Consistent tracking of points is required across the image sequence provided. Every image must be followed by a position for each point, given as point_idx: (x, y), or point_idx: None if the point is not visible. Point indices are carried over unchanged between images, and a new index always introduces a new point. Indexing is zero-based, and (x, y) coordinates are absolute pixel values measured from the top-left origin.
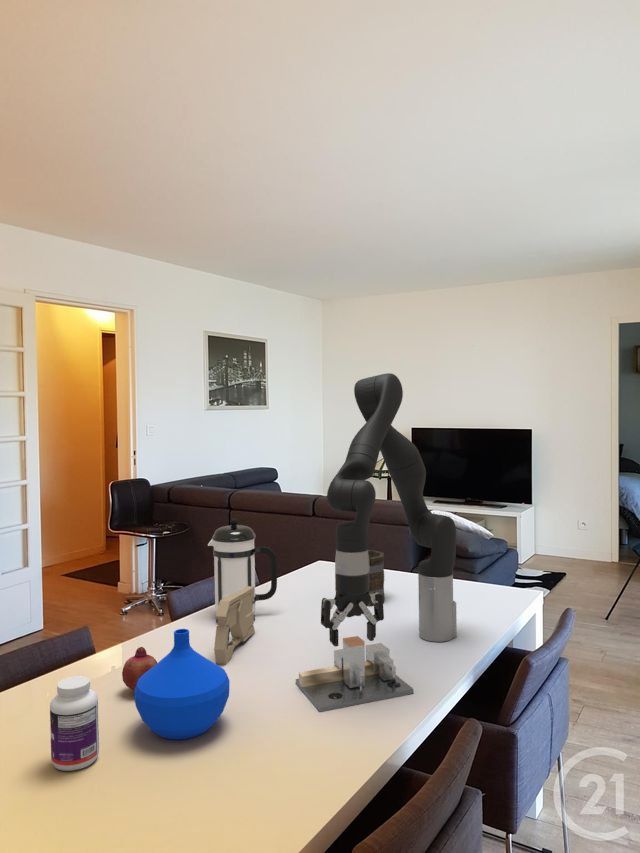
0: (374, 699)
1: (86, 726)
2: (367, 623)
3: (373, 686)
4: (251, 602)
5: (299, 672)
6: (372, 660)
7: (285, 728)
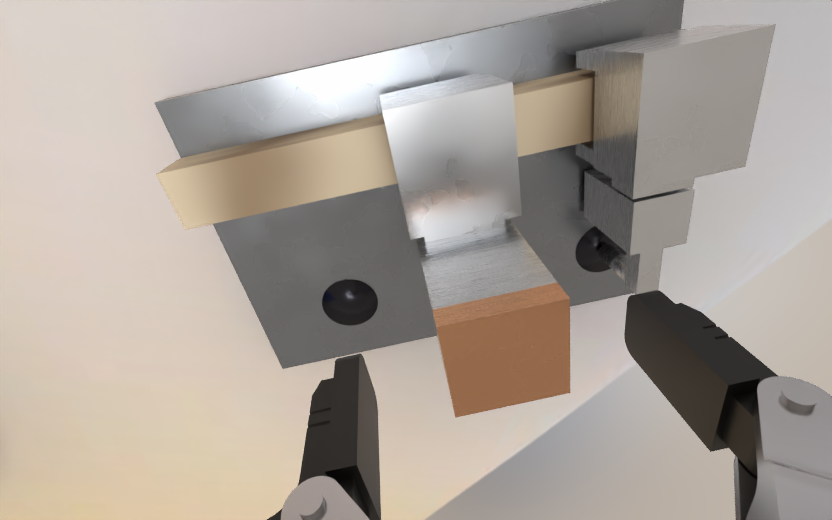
0: None
1: None
2: (719, 389)
3: None
4: None
5: (160, 175)
6: (601, 154)
7: (178, 426)
